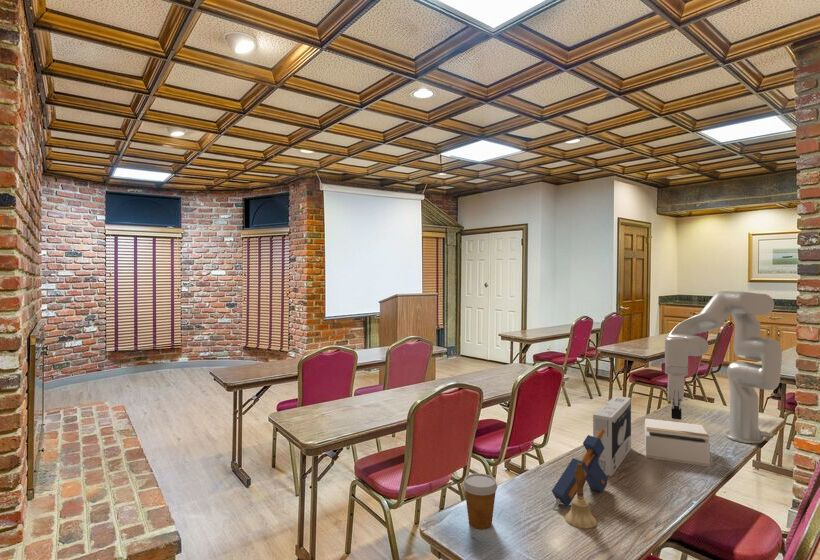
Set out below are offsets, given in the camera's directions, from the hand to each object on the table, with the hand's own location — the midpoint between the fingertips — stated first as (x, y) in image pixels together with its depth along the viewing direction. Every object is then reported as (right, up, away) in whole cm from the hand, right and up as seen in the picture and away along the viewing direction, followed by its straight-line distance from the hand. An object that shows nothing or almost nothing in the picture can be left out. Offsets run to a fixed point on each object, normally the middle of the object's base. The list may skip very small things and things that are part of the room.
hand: (676, 418), depth 172 cm
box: (+1, -14, +2) cm, 14 cm away
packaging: (-25, -14, -3) cm, 29 cm away
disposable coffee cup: (-81, -16, -45) cm, 94 cm away
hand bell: (-53, -15, -44) cm, 70 cm away
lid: (+1, -5, +2) cm, 5 cm away
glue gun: (-48, -15, -31) cm, 59 cm away
